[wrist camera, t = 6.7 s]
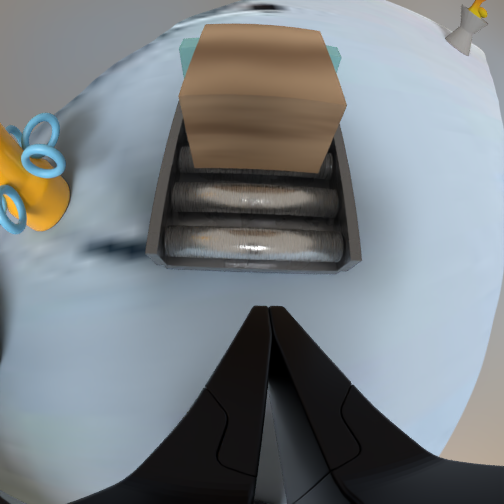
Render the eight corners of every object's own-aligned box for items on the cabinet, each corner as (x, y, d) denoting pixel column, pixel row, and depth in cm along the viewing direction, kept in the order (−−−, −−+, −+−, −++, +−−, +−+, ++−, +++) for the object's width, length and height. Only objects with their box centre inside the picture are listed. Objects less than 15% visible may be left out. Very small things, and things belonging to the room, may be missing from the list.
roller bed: (342, 274, 21) (361, 260, 17) (160, 268, 20) (145, 253, 17) (322, 115, 26) (330, 90, 22) (189, 109, 25) (184, 82, 22)
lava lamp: (446, 42, 42) (485, -39, 9) (443, 34, 44) (477, -40, 11) (471, 60, 41) (513, -17, 8) (467, 50, 44) (504, -20, 10)
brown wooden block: (317, 173, 19) (346, 105, 13) (194, 167, 19) (178, 95, 12) (305, 90, 22) (319, 31, 16) (210, 85, 22) (205, 24, 15)
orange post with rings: (60, 145, 24) (0, 54, 10) (114, 174, 23) (41, 49, 8) (1, 232, 20) (-86, 168, 6) (42, 282, 19) (-83, 218, 5)
